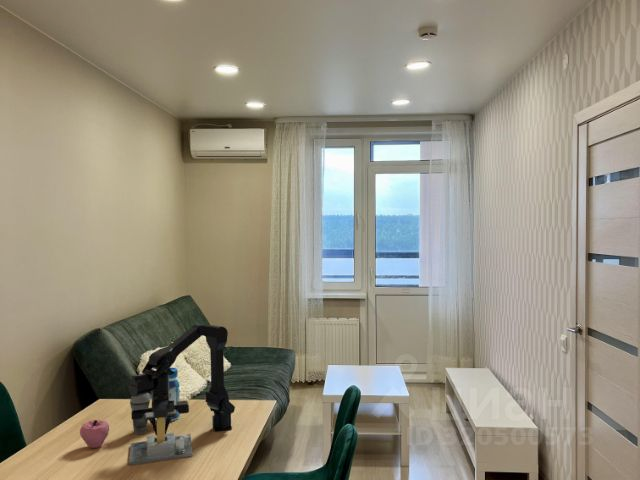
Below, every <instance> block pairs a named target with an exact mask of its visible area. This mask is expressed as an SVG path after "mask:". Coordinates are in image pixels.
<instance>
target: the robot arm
mask: <svg viewBox="0 0 640 480" xmlns="http://www.w3.org/2000/svg"><path fill="white" fill-rule="evenodd" d="M202 336H204V337H205V341H206V344H207V346H208V348H209V349H210V350H209V351H210V355H209V356H210V388H209V390H208V391H205V403H206V404H207V407H209V410H210V411H211V412H213V415H212V416H211V417H212V419H211V422H212V424H211V425H212V428H213V430H214V432H222V431H228V430H233V426H232V414H233V413H234V412H235V411H236V406H235V405H234V404H233V403H231V401H230V396H229V392H228V391H227V388H226V386H225V369H224V368H225V365H224V364H225V363H224V361H225V360H224V359H225V358H224V355H225V354H224V349H225V346H226V345H227V343H228V336H229V332H228V329H227V328H226V327H225V326H221V325H215V324H210V325H209V326H206V325H204V324H200V323H195V324H192V326H191V327H190V328H189V329H187V331H185V332H184V333H183V334H181V335H180V336H179V337H178V338H176V339H175V340H174V341H173V342H171V343H170V344H168V345H167V346H165V347H161V348H159V349H157V350H155V351H153V352H152V353H151V354H150V355H149V356H148V361H147V362H146V365H145V366H144V368H143V369H142V371H141V373H139V374H132V375H131V379H130V381H129V384H128V387H127V388H128V393H129V394H130V396H131V397H132V396H133V397H135V396H139V395H143V394H146V393H148V394H150V393H151V407H149V408H144V405H142V406H134V407H133V408H132V409H131V420H133V419H141V418H142V417H143V416H144V414H145V415H146V420H148V421H149V423H151V426H152V429H153V431H154V434H155V435H157V418H159V417H166V420H165V434H167V433H168V430H169V429H168V428H169V426H170V423H171V422H172V421H171V419H172V417H175V416H176V413H175V412H176V410H177V412H178V413H179V414H180V415H182V414H188V413H190V405H189V401H188V400H180V401H177V403H176V405H174V400H173V401H169V375H172V374H174V372H173V371H172V370H171V369H170V368H172V366H173V365H174V363H175V362H176V360H177V357H178V356H179V355H181V353H183V352H184V351H185V350H186V349H188V348H189V347H190V346H191V345H193V344H194V343H195V342H196V341H197V340H199V339H200V338H202Z"/></svg>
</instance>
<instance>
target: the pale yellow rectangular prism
mask: <svg viewBox="0 0 640 480" xmlns="http://www.w3.org/2000/svg"><path fill="white" fill-rule="evenodd" d="M156 427H157V442H162V441H165V417H159V418H156Z"/></svg>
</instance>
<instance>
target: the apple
mask: <svg viewBox="0 0 640 480" xmlns="http://www.w3.org/2000/svg"><path fill="white" fill-rule="evenodd" d="M109 431H110V425H109V423H108V422H107V421H106V420H101V419H93V420H89V421H86V422H84V423H83V424H81V426H80V429H79V435H80V437H81V438H82V440H83V441H84V442H85V444H86V445H87V447H88V448H91V449H95V448H99V447H102V446H103V444H104V443H105V440H106V439H107V437H108V436H109V433H110V432H109Z"/></svg>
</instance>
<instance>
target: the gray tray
mask: <svg viewBox="0 0 640 480" xmlns="http://www.w3.org/2000/svg"><path fill="white" fill-rule="evenodd" d="M187 457H193V448H192V436H191V433H188V434H179V435H175V434H174V432H171V433H166V434H165V441H162V442H157V435H148V436H146V440H145V441H138V442H131V443H130V449H129V457H128V465H129V466H134V465H140V464H142V465H143V464H147V463H155V462H162V461H168V460H175V459H182V458H187Z"/></svg>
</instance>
